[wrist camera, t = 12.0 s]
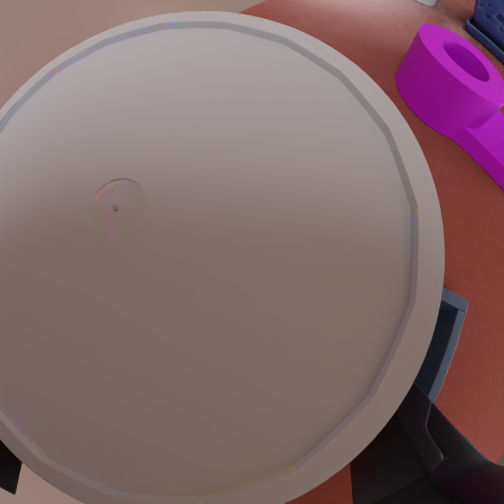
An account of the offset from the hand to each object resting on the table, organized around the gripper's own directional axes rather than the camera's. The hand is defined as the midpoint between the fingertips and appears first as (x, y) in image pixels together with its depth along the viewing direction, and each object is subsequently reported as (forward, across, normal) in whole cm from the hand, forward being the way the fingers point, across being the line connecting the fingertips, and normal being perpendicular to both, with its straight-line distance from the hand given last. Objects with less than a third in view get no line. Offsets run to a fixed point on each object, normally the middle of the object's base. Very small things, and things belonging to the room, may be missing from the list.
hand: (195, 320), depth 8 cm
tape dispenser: (+21, -21, -8) cm, 30 cm away
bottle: (+7, 0, +5) cm, 9 cm away
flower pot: (+38, -39, -25) cm, 60 cm away
